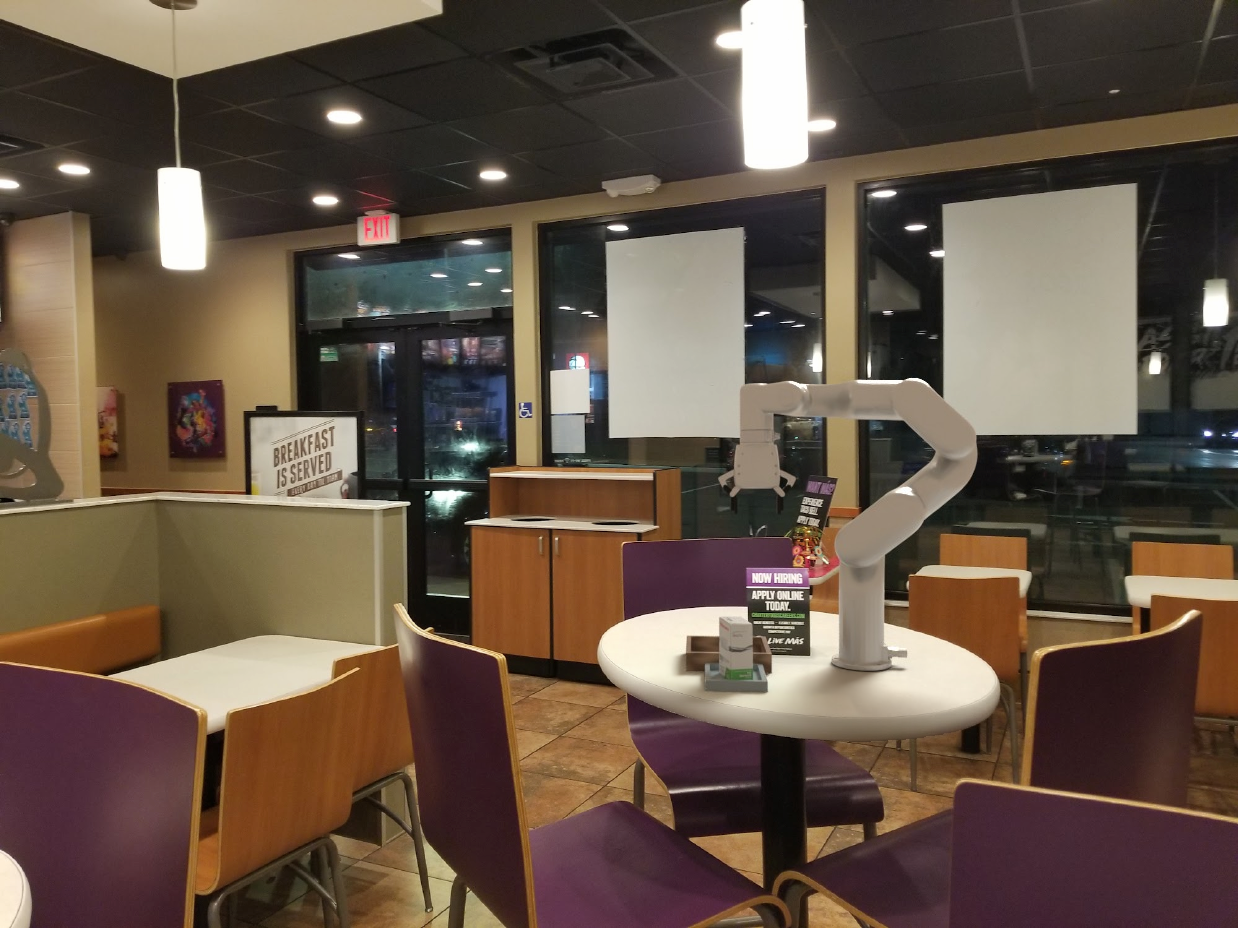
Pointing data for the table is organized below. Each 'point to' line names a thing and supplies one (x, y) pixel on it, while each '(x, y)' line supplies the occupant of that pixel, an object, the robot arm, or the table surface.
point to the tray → (720, 683)
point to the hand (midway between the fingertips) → (756, 514)
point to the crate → (708, 652)
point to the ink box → (735, 648)
